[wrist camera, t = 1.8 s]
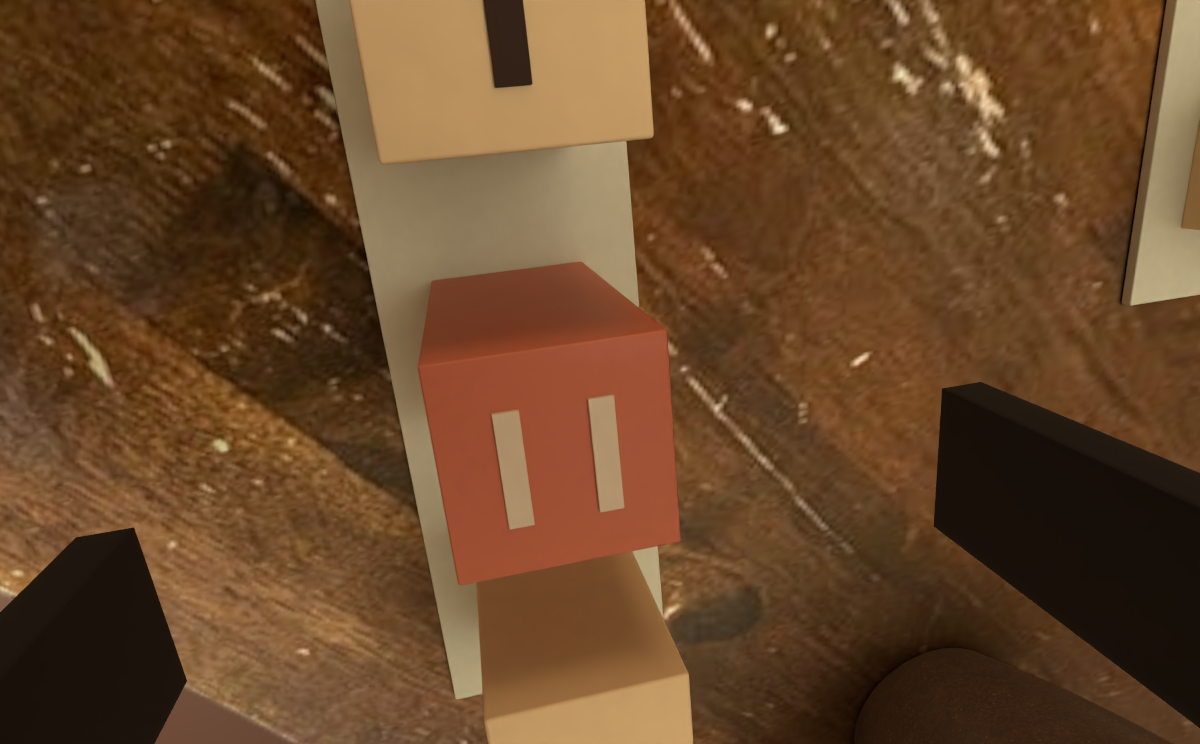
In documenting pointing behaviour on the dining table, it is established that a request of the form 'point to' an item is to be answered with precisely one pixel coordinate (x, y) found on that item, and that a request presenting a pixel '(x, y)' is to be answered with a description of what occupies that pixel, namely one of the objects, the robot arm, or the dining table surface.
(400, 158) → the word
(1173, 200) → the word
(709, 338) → the dining table surface
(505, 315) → the equals sign block
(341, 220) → the dining table surface
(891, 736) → the flower pot
